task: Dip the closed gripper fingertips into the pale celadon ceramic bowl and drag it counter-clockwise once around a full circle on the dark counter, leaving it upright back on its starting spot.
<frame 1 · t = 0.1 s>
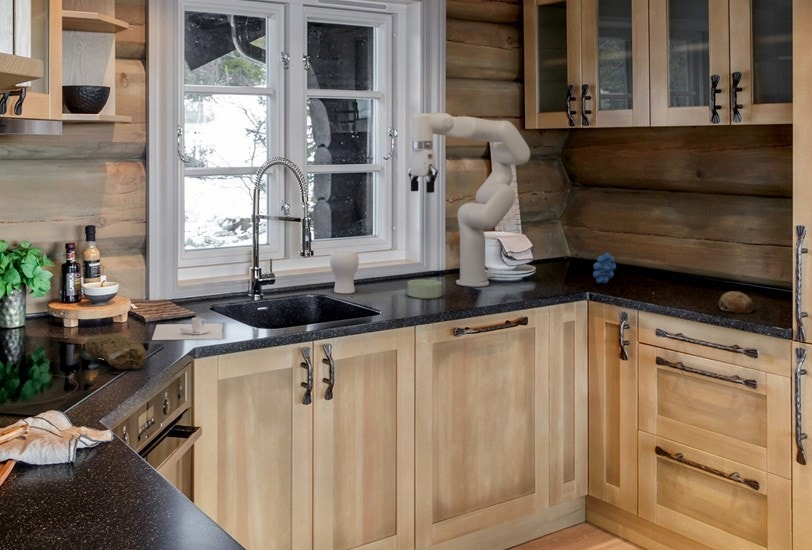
hand: (422, 191, 315), 37 cm above the counter, tool pointing down, fingers open, 9 cm apart
sponge: (115, 363, 214), on the counter
bowl: (424, 296, 303), on the counter
bread roll: (736, 310, 276), on the counter
grapes: (602, 283, 328), on the counter
teacup and saucer: (188, 332, 249), on the counter
cup: (344, 292, 312), on the counter
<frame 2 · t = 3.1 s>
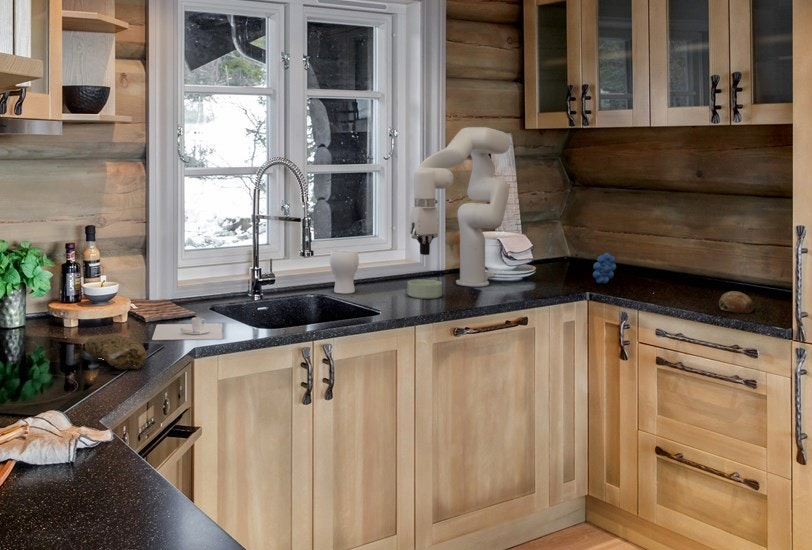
hand: (424, 254, 302), 15 cm above the counter, tool pointing down, fingers closed
nothing on the counter moved.
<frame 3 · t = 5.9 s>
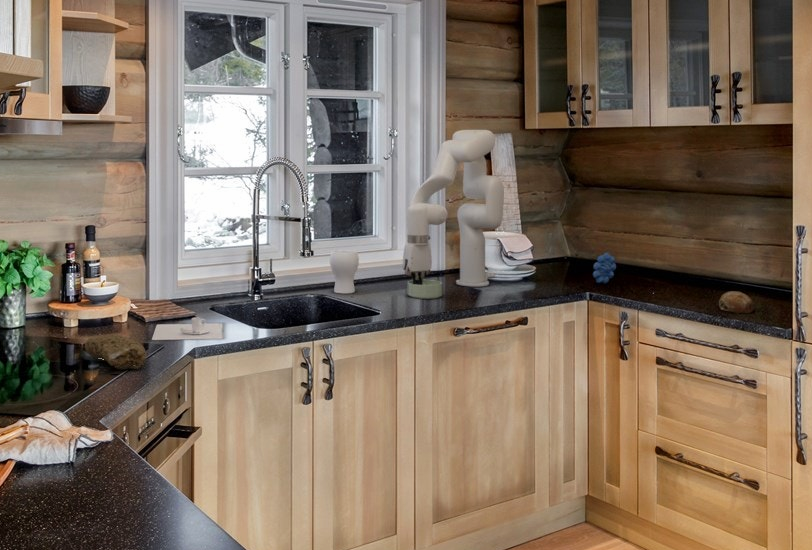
hand: (417, 290, 304), 2 cm above the counter, tool pointing down, fingers closed
bowl: (424, 296, 303), on the counter, touching gripper
everything else where it was.
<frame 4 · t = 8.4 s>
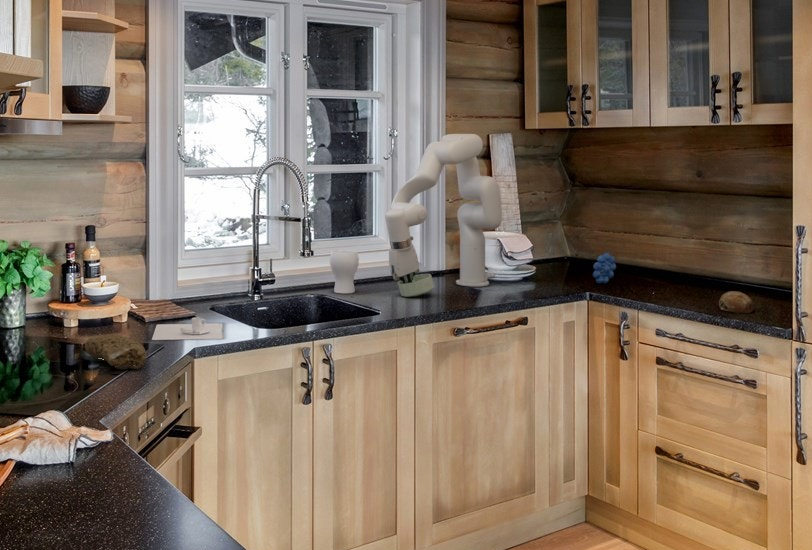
hand: (409, 291, 304), 1 cm above the counter, tool pointing down, fingers closed
bowl: (417, 292, 303), point 1 cm above the counter, tilted 15°, touching gripper
everything else where it was.
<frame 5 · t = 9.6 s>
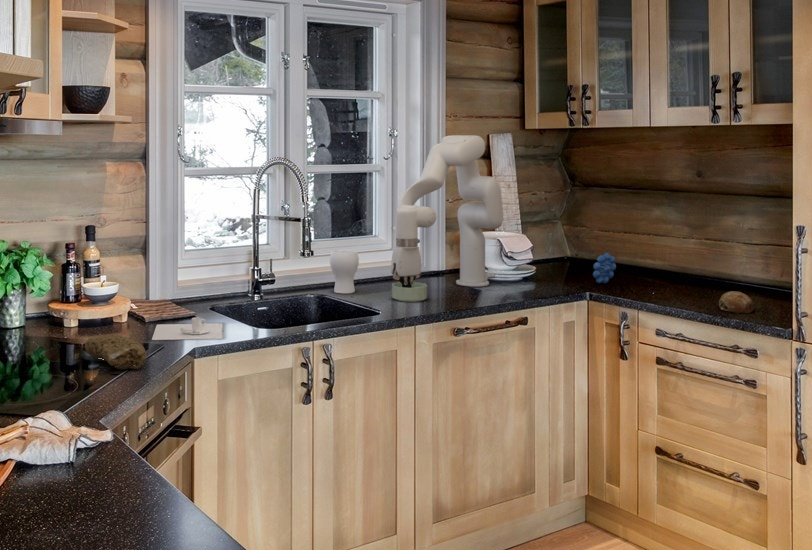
hand: (406, 295, 295), 2 cm above the counter, tool pointing down, fingers closed
bowl: (409, 299, 297), on the counter, touching gripper
everything else where it was.
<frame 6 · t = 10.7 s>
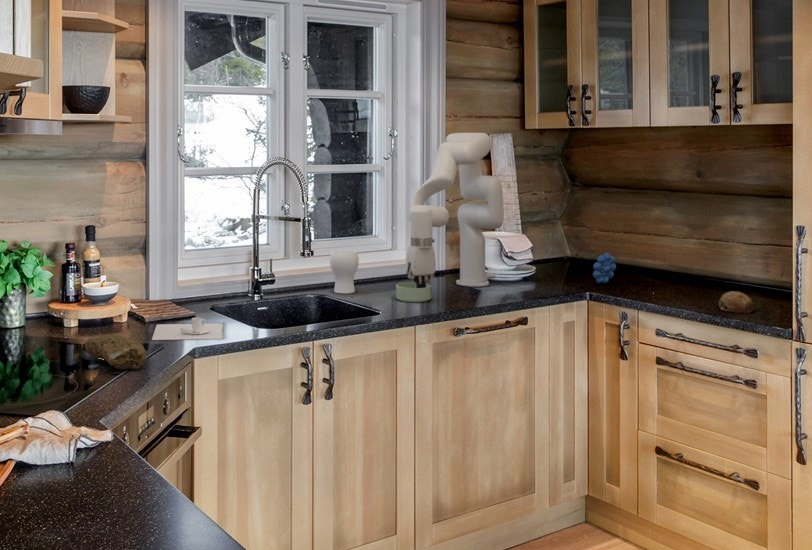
hand: (421, 294, 295), 2 cm above the counter, tool pointing down, fingers closed
bowl: (413, 299, 296), on the counter, touching gripper
everything else where it was.
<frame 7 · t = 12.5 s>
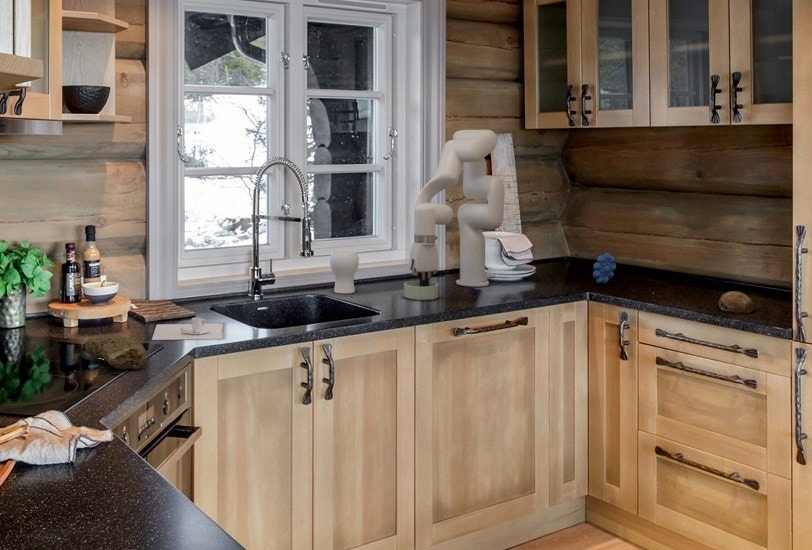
hand: (424, 290, 302), 2 cm above the counter, tool pointing down, fingers closed
bowl: (421, 297, 299), on the counter, touching gripper
everything else where it was.
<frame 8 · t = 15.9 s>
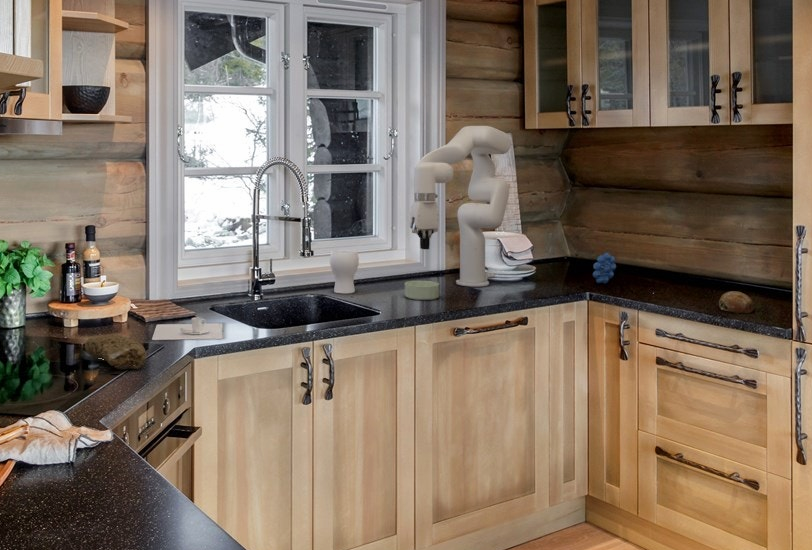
hand: (424, 248, 302), 17 cm above the counter, tool pointing down, fingers closed
bowl: (421, 297, 300), on the counter
everything else where it was.
at the end: bowl inside the target area (2.5 cm from its centre), on the counter; bowl tilted 0° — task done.
